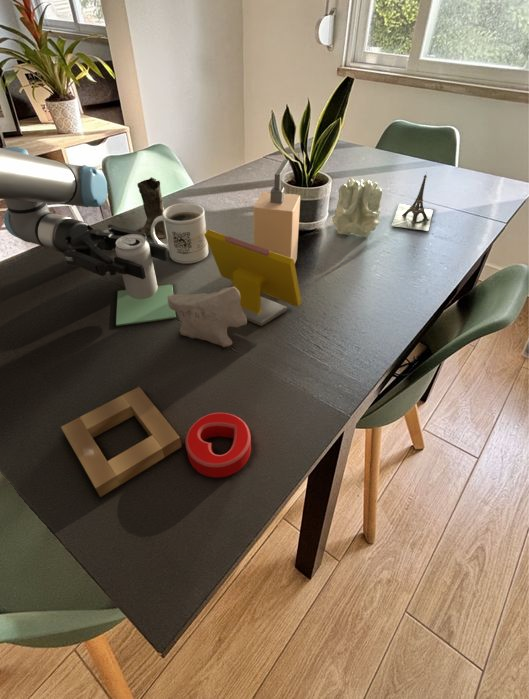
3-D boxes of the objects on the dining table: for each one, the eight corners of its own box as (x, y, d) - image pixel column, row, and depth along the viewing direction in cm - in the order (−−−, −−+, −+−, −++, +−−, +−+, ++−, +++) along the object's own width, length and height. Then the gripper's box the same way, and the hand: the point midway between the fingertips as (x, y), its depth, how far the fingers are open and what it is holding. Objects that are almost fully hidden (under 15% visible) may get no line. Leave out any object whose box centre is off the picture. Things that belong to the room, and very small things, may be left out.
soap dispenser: (289, 277, 99) (294, 183, 84) (254, 272, 101) (252, 179, 86) (300, 250, 108) (305, 161, 93) (267, 246, 110) (267, 157, 95)
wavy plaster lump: (360, 258, 118) (380, 225, 104) (317, 240, 119) (331, 204, 104) (380, 209, 124) (401, 171, 109) (338, 192, 125) (354, 152, 110)
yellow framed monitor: (301, 314, 89) (306, 247, 78) (280, 335, 84) (283, 267, 74) (225, 284, 97) (221, 219, 87) (203, 301, 93) (195, 235, 82)
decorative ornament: (261, 438, 67) (261, 425, 65) (230, 488, 61) (228, 476, 58) (210, 415, 70) (208, 402, 68) (175, 460, 64) (171, 448, 62)
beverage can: (145, 304, 86) (133, 252, 78) (120, 296, 89) (106, 244, 80) (164, 288, 91) (154, 237, 82) (140, 280, 93) (128, 229, 84)
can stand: (100, 497, 59) (95, 488, 58) (65, 436, 67) (60, 426, 65) (182, 446, 66) (179, 437, 64) (142, 396, 73) (139, 386, 71)
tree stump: (182, 222, 119) (174, 173, 110) (170, 239, 112) (160, 189, 103) (148, 219, 121) (138, 171, 112) (134, 236, 114) (122, 186, 105)
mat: (116, 326, 87) (115, 324, 86) (118, 292, 95) (117, 290, 95) (175, 318, 88) (175, 316, 88) (172, 285, 97) (172, 284, 97)
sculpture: (253, 345, 82) (252, 280, 72) (244, 361, 79) (241, 295, 69) (178, 325, 87) (166, 261, 76) (166, 339, 84) (153, 274, 73)
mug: (187, 269, 102) (180, 226, 94) (153, 253, 107) (144, 212, 100) (216, 251, 108) (212, 209, 100) (182, 237, 113) (177, 196, 106)
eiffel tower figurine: (398, 204, 128) (408, 158, 119) (433, 210, 125) (446, 163, 116) (391, 227, 118) (401, 178, 108) (429, 233, 115) (443, 184, 106)
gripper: (104, 232, 99) (186, 256, 91) (37, 273, 86) (125, 306, 78) (95, 201, 93) (182, 224, 86) (22, 240, 81) (115, 271, 73)
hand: (155, 263), depth 82 cm, fingers closed on beverage can, 6 cm apart
